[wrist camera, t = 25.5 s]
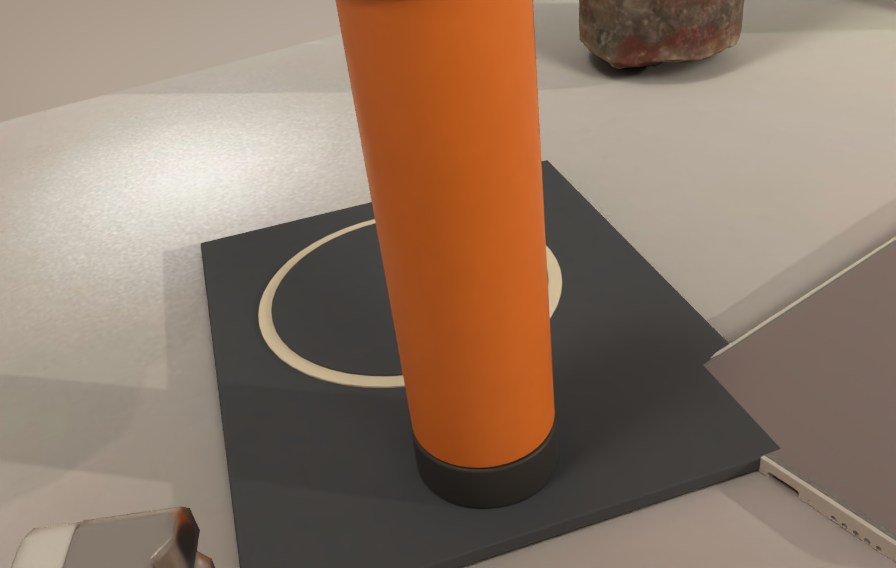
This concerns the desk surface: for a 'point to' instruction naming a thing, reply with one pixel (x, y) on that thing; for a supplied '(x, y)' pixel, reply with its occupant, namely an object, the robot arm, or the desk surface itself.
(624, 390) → the pad
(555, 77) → the desk surface
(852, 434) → the smartphone
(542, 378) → the marker
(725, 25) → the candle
